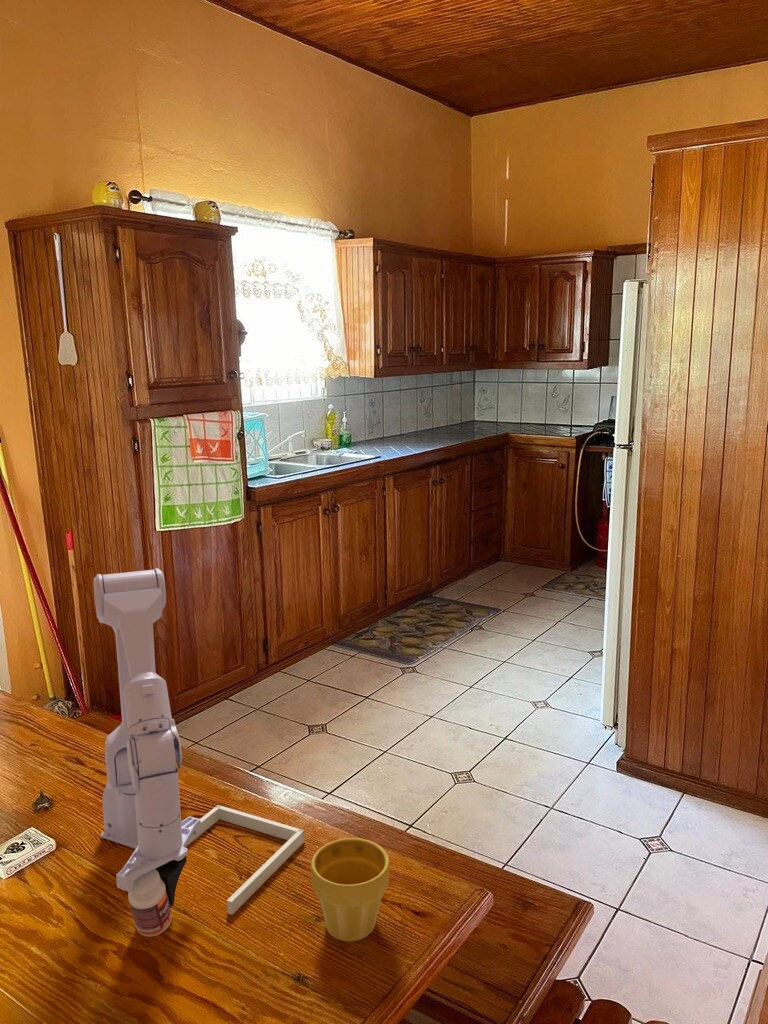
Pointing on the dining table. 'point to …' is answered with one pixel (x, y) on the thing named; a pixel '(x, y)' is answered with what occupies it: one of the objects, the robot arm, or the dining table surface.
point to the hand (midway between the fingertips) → (164, 905)
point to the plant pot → (350, 885)
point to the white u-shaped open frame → (261, 825)
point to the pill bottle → (150, 904)
